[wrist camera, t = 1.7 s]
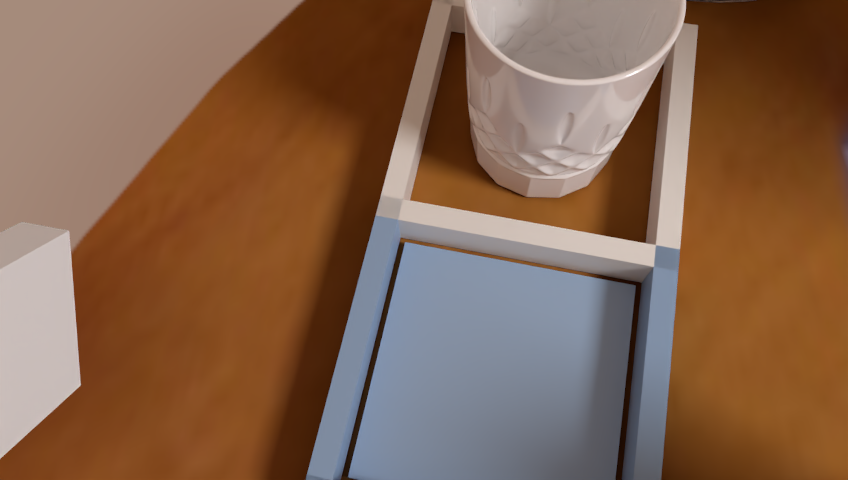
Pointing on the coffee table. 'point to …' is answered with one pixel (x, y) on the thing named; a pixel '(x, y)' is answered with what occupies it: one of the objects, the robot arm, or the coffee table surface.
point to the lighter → (721, 0)
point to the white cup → (559, 84)
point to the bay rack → (508, 322)
